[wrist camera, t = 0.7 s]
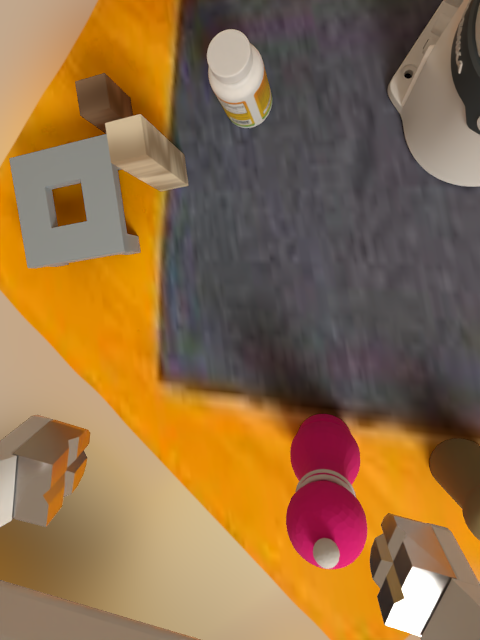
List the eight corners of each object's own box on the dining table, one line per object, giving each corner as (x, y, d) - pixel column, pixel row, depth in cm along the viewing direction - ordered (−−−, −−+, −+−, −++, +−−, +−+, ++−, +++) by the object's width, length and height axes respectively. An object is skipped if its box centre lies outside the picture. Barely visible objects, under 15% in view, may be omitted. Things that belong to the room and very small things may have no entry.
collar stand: (37, 169, 49) (9, 158, 44) (127, 148, 46) (106, 133, 41) (53, 269, 49) (27, 267, 45) (143, 254, 47) (124, 251, 42)
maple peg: (156, 161, 45) (104, 123, 34) (184, 154, 44) (140, 113, 34) (160, 191, 45) (110, 162, 35) (188, 185, 45) (146, 154, 34)
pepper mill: (300, 402, 44) (283, 495, 25) (362, 418, 43) (397, 530, 23) (287, 458, 45) (261, 591, 26) (348, 476, 44) (369, 630, 24)
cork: (419, 473, 42) (452, 538, 31) (446, 428, 41) (490, 479, 30) (471, 501, 41) (524, 577, 30) (501, 455, 40) (566, 518, 29)
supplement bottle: (259, 69, 42) (240, 5, 32) (281, 111, 42) (269, 60, 32) (217, 97, 43) (188, 44, 33) (239, 138, 43) (215, 97, 33)
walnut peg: (103, 105, 46) (75, 81, 41) (130, 98, 45) (104, 72, 40) (108, 135, 46) (80, 115, 41) (134, 128, 45) (109, 107, 40)
